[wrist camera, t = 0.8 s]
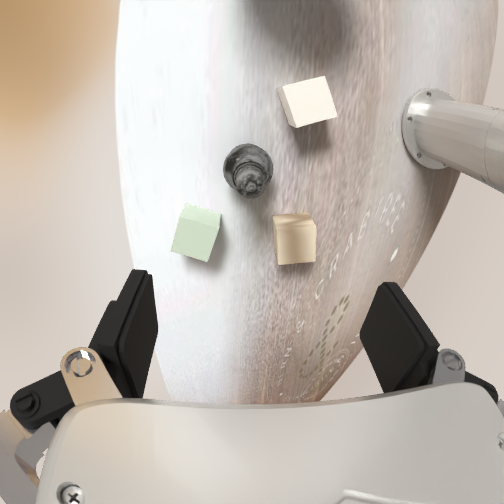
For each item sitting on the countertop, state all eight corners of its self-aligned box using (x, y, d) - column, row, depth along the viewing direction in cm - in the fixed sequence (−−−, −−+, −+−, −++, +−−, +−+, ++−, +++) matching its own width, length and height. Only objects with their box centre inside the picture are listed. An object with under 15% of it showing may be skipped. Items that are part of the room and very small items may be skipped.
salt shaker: (274, 179, 37) (289, 211, 27) (231, 190, 38) (229, 226, 27) (264, 136, 34) (276, 151, 24) (219, 148, 35) (210, 167, 24)
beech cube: (307, 212, 40) (316, 227, 36) (307, 243, 42) (315, 261, 38) (272, 215, 40) (276, 230, 36) (273, 247, 42) (278, 265, 38)
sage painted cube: (221, 213, 39) (219, 228, 35) (210, 244, 42) (207, 262, 37) (186, 202, 38) (179, 216, 34) (177, 234, 41) (170, 251, 36)
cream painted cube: (313, 79, 31) (324, 75, 27) (325, 114, 33) (337, 116, 29) (276, 88, 32) (282, 86, 27) (289, 124, 34) (296, 127, 30)
